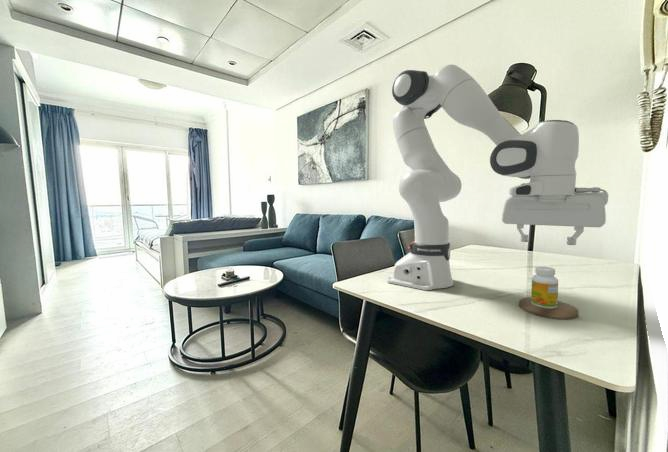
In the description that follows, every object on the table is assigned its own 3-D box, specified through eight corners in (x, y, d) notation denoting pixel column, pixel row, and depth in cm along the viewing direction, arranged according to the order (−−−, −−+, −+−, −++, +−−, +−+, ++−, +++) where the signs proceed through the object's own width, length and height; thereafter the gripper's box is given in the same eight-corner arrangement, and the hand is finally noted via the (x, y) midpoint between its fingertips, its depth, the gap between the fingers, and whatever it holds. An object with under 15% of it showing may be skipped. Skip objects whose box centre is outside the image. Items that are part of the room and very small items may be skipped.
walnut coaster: (520, 313, 68) (520, 309, 68) (517, 298, 78) (518, 294, 78) (584, 323, 62) (584, 319, 62) (572, 305, 72) (572, 301, 72)
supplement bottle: (525, 301, 73) (526, 266, 72) (545, 300, 73) (546, 265, 72) (542, 309, 68) (543, 271, 67) (563, 308, 68) (564, 270, 67)
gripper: (604, 187, 64) (598, 244, 66) (503, 188, 75) (500, 238, 77) (614, 186, 59) (607, 249, 61) (503, 188, 70) (500, 241, 71)
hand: (546, 243), depth 69 cm, fingers open, 8 cm apart
